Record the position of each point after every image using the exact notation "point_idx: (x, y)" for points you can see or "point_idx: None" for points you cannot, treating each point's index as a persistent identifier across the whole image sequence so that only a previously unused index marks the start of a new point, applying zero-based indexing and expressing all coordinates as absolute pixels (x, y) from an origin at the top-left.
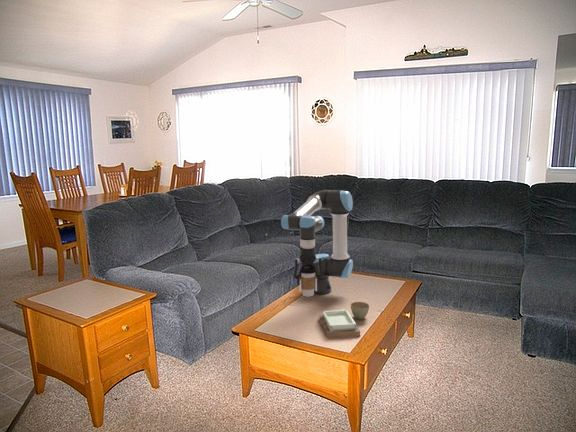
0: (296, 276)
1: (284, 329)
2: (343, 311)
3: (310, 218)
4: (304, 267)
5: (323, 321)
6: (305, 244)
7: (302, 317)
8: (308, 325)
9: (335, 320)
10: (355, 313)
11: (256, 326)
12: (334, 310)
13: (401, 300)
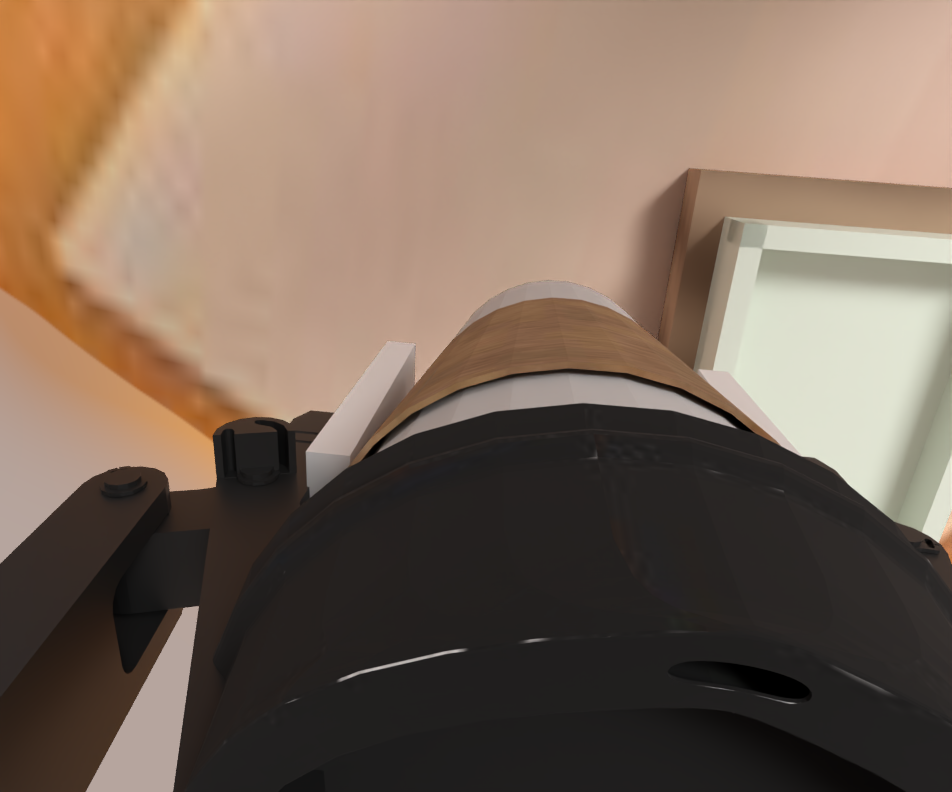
0: (181, 604)
1: (310, 308)
2: None
3: None
4: (427, 783)
5: (682, 338)
6: None
7: (532, 63)
8: (540, 279)
9: (796, 391)
10: None
11: (58, 184)
12: (893, 238)
13: None
